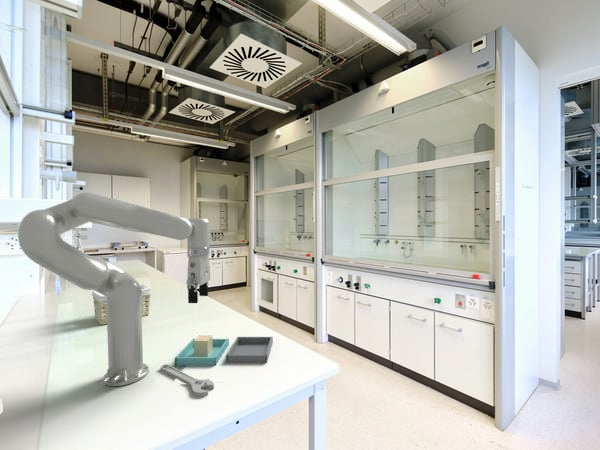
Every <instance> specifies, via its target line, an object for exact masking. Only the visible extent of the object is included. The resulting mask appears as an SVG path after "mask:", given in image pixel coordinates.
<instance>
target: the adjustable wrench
mask: <svg viewBox="0 0 600 450" xmlns="http://www.w3.org/2000/svg"><path fill="white" fill-rule="evenodd" d="M160 371H161V372H162V373H164V374H166V375H168V376H170V377H172V378H174V379H176V378H178V379H179V380H181V381H182V382H184V384H185V383H186V385H187V386H189V387H190V389H191V391H192V395H193V396H194V397H197V398H204V397H208V395H209V389H210V390H214V389H215V383H214V381H213V380H210V378H206V379H205V378H204V379H197V378H195V377H193V376H190V375H189V374H187V373H186V372H184V371H181V370H180V369H178V368H177V367H175V366H172V365H170V364H162V365H161V366H160ZM205 388H206V389H208V390H206V389H205ZM204 389H205V390H204Z"/></svg>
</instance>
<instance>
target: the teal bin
mask: <svg viewBox="0 0 600 450" xmlns="http://www.w3.org/2000/svg"><path fill="white" fill-rule="evenodd" d="M195 339H196V338H192V339H191V340H190V342H189V343H187V344H186V345H185V347H184V348H183V349H182V350H181V351H179V353H178V354H177V355H176V356H175V357H174V368H186V367H187V366H217V365H218V363H219V361H220V359H221V358H222V357H223V355H224V354H225V351H227V349H228V347H229V345H230V342H229V341H230V340H229V338H212V342H213V352H212V353H211V354H210V355H209V357H194V340H195Z"/></svg>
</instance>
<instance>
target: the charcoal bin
mask: <svg viewBox="0 0 600 450" xmlns="http://www.w3.org/2000/svg"><path fill="white" fill-rule="evenodd" d="M273 338H274V336H237V337H236V339H235V340H234V342H233V344H232V345H231V347H230V348H229V350H228V352H227V354H226V355H225V357H226V361H225V363H230V364H231V363H232V364H233V363H236V364H237V363H244V364H246V363H249V364H251V363H252V364H253V363H259V364H261V363H266V364H267V363H268V360H269V357H270V353H271V350H272V347H273V344H274V341H273V340H274V339H273Z"/></svg>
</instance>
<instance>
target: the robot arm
mask: <svg viewBox="0 0 600 450" xmlns="http://www.w3.org/2000/svg"><path fill="white" fill-rule="evenodd" d="M87 223H92V224H93V223H94V224H98V225H103V226H108V227H112V228H117V229H120V230H121V229H122V230H123V231H124V230H125V231H130V232H133V233H134V232H135V233H145V234H151V235H154V236H159V237H164V238H168V239H171V240H172V239H173V240H177V241H183V240H186V243H187V244H186V246H187V247H186V250H187V251H186V252H187V255H186V257H187V258H188V260H187V261H188V263H187V280H186V288H187V303H188V304H197V303H198V302H199V297H208V295H209V282H210V280H211V268H210V266H211V265H210V258H209V256H210V222H209V220H208V218H202V217H200V218H199V217H198V218H196V217H195V218H185V217H183V216H179V215H176V214H175V215H174V214H171V213H167V212H164V211H158V210H155V209H151V208H148V207H144V206H141V205H138V204H134V203H131V202H127V201H123V200H119V199H115V198H111V197H107V196H104V195H100V194H97V193H92V192H81V193H78V194H77V195H74V197H73V198H71V199H69V200H66V201H64V202H62V203H59V204H56V205H53V206H50V207H47V208H45V209H36V210H33V211H30V212H28V213H27V214H26V215H24V216H23V218H22V220H21V221H20V224H19V227H18V231H17V240H18V243H19V246H20V249H21V250H22V252H23V254H24V255H25V256H26V257H27V258H29V260H31V261H32V262H34V263H35V264H37V265H39V266H40V267H42V268H44V269H46V270H48V271H50V272H51V273H53V274H54V275H56V276H58V277H60V278H62V279H64V280H66V281H67V282H70V283H72V284H73V285H75V286H77V287H78V288H80V289H82V290H87V291H96V292H98V293H100V294H102V295H104V296H106V301H107V324H106V327H107V329H106V331H107V359H108V363H107V364H108V368H107V369H106V373H105V374H104V375H103V377H102V378H101V380H99V386H101V387H105V386H108V387H122V386H126V385H127V386H128V385H131V384H133V383H135V382H137V381H139V380H141V379H143V378H144V377H145V376H147V375H148V373H149V371H150V370H149V365H147V364H146V363H144V356H143V355H144V353H143V352H144V351H143V321H142V320H143V318H142V317H143V316H142V289H141V286H140V284H141V283H139V282H138V280H137V279H135V278H134V277H133V275H131V274H129V273H128V272H125V270H122V269H120V268H119V267H117V266H115V265H113V264H111V262H109V261H107V260H105V259H103V258H101V257H99V256H95V255H88V254H86V252H83V251H82V250H80V249H78V248H77V247H75V246H74V245H72V244H69V243H68V242H67V241H65V240H64V239H63V238H62V237H61V235H62V234H64V233H66V232H69V231H71V230H73V229H76V228H78V227H81V226H83V225H84V224H87Z"/></svg>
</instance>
